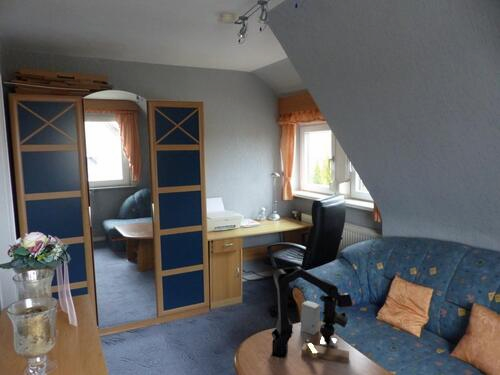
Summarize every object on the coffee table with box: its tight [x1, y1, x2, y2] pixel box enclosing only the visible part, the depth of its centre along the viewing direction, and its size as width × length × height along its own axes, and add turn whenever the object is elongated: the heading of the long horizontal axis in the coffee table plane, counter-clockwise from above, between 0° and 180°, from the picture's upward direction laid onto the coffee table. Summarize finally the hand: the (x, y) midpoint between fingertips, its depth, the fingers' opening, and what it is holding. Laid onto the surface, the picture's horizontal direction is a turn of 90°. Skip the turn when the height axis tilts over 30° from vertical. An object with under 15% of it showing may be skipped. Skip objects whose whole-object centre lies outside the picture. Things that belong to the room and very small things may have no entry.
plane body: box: [300, 342, 350, 365], centre depth 170 cm, size 21×6×3 cm, turn 71°
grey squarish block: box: [319, 336, 338, 349], centre depth 177 cm, size 7×6×4 cm
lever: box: [304, 338, 318, 359], centre depth 168 cm, size 11×3×3 cm, turn 11°
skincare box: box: [300, 300, 322, 336], centre depth 193 cm, size 8×6×15 cm
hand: (328, 339), depth 177 cm, fingers open, 9 cm apart
